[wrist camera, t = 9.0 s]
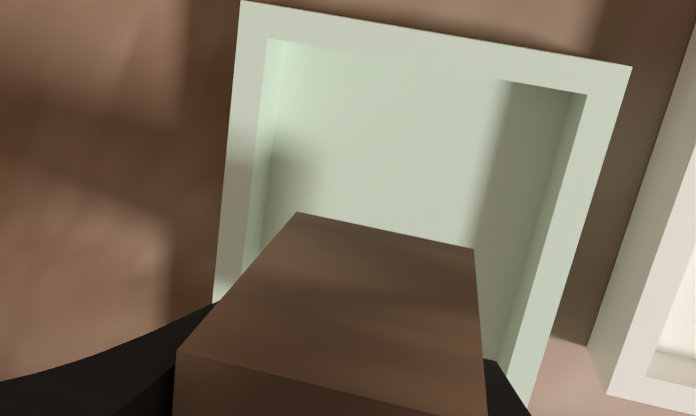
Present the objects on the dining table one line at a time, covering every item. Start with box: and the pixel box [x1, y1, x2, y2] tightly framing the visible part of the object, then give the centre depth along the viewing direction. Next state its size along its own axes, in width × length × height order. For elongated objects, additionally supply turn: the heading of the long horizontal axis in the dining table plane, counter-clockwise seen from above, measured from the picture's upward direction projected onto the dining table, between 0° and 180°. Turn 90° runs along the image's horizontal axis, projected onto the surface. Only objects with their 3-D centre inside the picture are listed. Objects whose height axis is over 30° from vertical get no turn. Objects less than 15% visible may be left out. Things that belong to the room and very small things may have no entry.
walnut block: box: [172, 211, 488, 416], centre depth 11 cm, size 4×4×6 cm
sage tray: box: [212, 0, 633, 408], centre depth 17 cm, size 10×13×2 cm
